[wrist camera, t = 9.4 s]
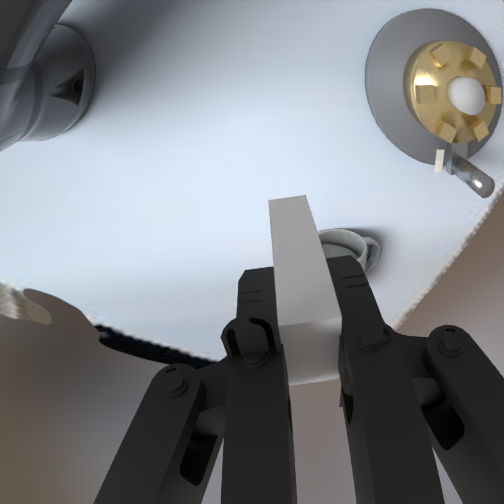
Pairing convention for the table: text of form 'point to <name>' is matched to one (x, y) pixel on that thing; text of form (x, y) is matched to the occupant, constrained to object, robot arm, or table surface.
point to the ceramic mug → (349, 246)
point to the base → (391, 81)
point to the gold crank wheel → (440, 110)
